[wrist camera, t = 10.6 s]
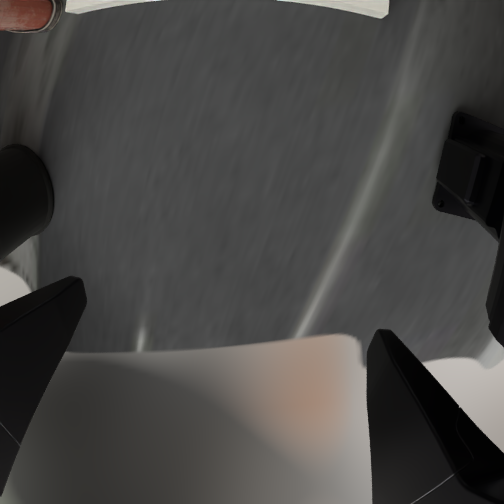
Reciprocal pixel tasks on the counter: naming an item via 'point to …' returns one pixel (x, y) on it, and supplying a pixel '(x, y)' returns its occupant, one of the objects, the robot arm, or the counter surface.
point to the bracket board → (367, 3)
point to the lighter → (29, 15)
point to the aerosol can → (22, 197)
